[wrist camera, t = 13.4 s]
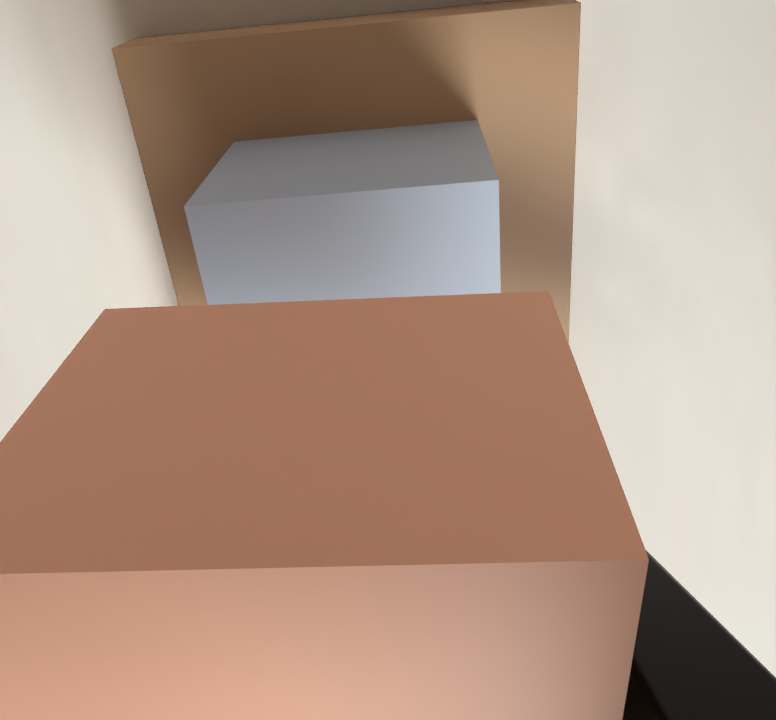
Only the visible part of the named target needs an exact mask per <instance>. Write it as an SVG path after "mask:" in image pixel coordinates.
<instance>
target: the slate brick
mask: <svg viewBox="0 0 776 720" xmlns="http://www.w3.org/2000/svg"><path fill="white" fill-rule="evenodd" d="M184 209H185V213H186V217H187V221H188V225H189V229H190V234H191V238H192V242H193V246H194V250H195V254H196V258H197V263H198V267H199V271H200V275H201V279H202V283H203V288H204V292H205V296H206V300H207V304H208V305H218V304H243V303H267V302H292V301H316V300H341V299H365V298H390V297H414V296H439V295H463V294H488V293H501V278H500V222H499V179H498V176H497V173H496V170H495V168H494V165H493V162H492V159H491V156H490V153H489V150H488V148H487V145H486V142H485V139H484V136H483V133H482V130H481V128H480V125H479V122H478V120H471V121H460V122H449V123H438V124H426V125H415V126H404V127H393V128H382V129H371V130H359V131H348V132H337V133H326V134H315V135H304V136H292V137H281V138H270V139H259V140H248V141H237V142H234V143H233V144H232V145H231V146H230V148H229V149H228V150H227V152H226V153H225V154H224V155H223V157H222V158H221V159H220V161H219V162H218V163H217V164H216V166H215V167H214V168H213V170H212V171H211V172H210V173H209V175H208V176H207V177H206V179H205V180H204V181H203V182H202V184H201V185H200V186H199V188H198V189H197V190H196V191H195V193H194V194H193V195H192V197H191V198H190V199H189V200H188V202H187V203H186V204H185V206H184Z"/></svg>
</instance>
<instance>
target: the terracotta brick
mask: <svg viewBox="0 0 776 720" xmlns="http://www.w3.org/2000/svg"><path fill="white" fill-rule="evenodd" d="M648 562H649V559H648V556H647V553H646V550H645V548H644V545H643V542H642V540H641V537H640V534H639V532H638V529H637V526H636V524H635V521H634V518H633V516H632V513H631V510H630V508H629V505H628V502H627V500H626V497H625V494H624V491H623V489H622V486H621V483H620V481H619V478H618V475H617V473H616V470H615V467H614V465H613V462H612V459H611V457H610V454H609V451H608V449H607V446H606V443H605V441H604V438H603V435H602V433H601V430H600V427H599V424H598V422H597V419H596V416H595V414H594V411H593V408H592V406H591V403H590V400H589V398H588V395H587V392H586V390H585V387H584V384H583V382H582V379H581V376H580V374H579V371H578V368H577V365H576V363H575V360H574V357H573V355H572V352H571V349H570V347H569V344H568V341H567V339H566V336H565V333H564V331H563V328H562V325H561V323H560V320H559V317H558V315H557V312H556V309H555V307H554V304H553V301H552V298H551V296H550V293H549V291H537V292H512V293H488V294H463V295H439V296H414V297H390V298H365V299H341V300H316V301H292V302H267V303H243V304H218V305H194V306H169V307H145V308H120V309H105V310H104V311H103V312H102V313H101V315H100V316H99V317H98V319H97V320H96V321H95V322H94V324H93V325H92V326H91V327H90V329H89V330H88V331H87V333H86V334H85V335H84V336H83V338H82V339H81V340H80V341H79V343H78V344H77V345H76V347H75V348H74V349H73V350H72V352H71V353H70V354H69V356H68V357H67V358H66V359H65V361H64V362H63V363H62V364H61V366H60V367H59V368H58V370H57V371H56V372H55V373H54V375H53V376H52V377H51V378H50V380H49V381H48V382H47V384H46V385H45V386H44V387H43V389H42V390H41V391H40V392H39V394H38V395H37V396H36V398H35V399H34V400H33V401H32V403H31V404H30V405H29V406H28V408H27V409H26V410H25V412H24V413H23V414H22V415H21V417H20V418H19V419H18V420H17V422H16V423H15V424H14V426H13V427H12V428H11V429H10V431H9V432H8V433H7V434H6V436H5V437H4V438H3V440H2V441H1V442H0V720H622V718H623V712H624V706H625V700H626V694H627V688H628V682H629V676H630V670H631V664H632V658H633V652H634V646H635V640H636V634H637V628H638V622H639V616H640V610H641V604H642V598H643V592H644V586H645V580H646V574H647V568H648Z"/></svg>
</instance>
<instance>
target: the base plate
mask: <svg viewBox="0 0 776 720" xmlns="http://www.w3.org/2000/svg"><path fill="white" fill-rule="evenodd" d="M580 11H581V3H580V2H578V1H576V0H517V1H507V2H497V3H487V4H477V5H466V6H456V7H446V8H436V9H426V10H416V11H406V12H395V13H385V14H375V15H365V16H355V17H345V18H335V19H324V20H314V21H304V22H294V23H284V24H274V25H263V26H253V27H243V28H233V29H223V30H213V31H203V32H192V33H182V34H172V35H162V36H152V37H142V38H135V39H133V40H130V41H128V42H126V43H124V44H121V45H119V46H117V47H114V48H112V52H113V56H114V59H115V63H116V67H117V71H118V75H119V78H120V82H121V86H122V90H123V94H124V98H125V101H126V105H127V109H128V113H129V117H130V120H131V124H132V128H133V132H134V136H135V140H136V143H137V147H138V151H139V155H140V159H141V163H142V166H143V170H144V174H145V178H146V182H147V185H148V189H149V193H150V197H151V201H152V205H153V208H154V212H155V216H156V220H157V224H158V228H159V231H160V235H161V239H162V243H163V247H164V250H165V254H166V258H167V262H168V266H169V270H170V273H171V277H172V281H173V285H174V289H175V292H176V296H177V300H178V304H179V306H194V305H208V304H207V300H206V296H205V292H204V288H203V283H202V279H201V275H200V271H199V267H198V263H197V258H196V254H195V250H194V246H193V242H192V238H191V234H190V229H189V225H188V221H187V217H186V213H185V209H184V206H185V204H186V203H187V202H188V200H189V199H190V198H191V197H192V195H193V194H194V193H195V191H196V190H197V189H198V188H199V186H200V185H201V184H202V182H203V181H204V180H205V179H206V177H207V176H208V175H209V173H210V172H211V171H212V170H213V168H214V167H215V166H216V164H217V163H218V162H219V161H220V159H221V158H222V157H223V155H224V154H225V153H226V152H227V150H228V149H229V148H230V146H231V145H232V144H233V143H234V142H237V141H248V140H259V139H270V138H281V137H292V136H304V135H315V134H326V133H337V132H348V131H359V130H371V129H382V128H393V127H404V126H415V125H426V124H438V123H449V122H460V121H471V120H478V122H479V125H480V128H481V130H482V133H483V136H484V139H485V142H486V145H487V148H488V150H489V153H490V156H491V159H492V162H493V165H494V168H495V170H496V173H497V176H498V179H499V222H500V278H501V293H512V292H537V291H549V293H550V296H551V298H552V301H553V304H554V307H555V309H556V312H557V315H558V317H559V320H560V323H561V325H562V328H563V331H564V333H565V336H566V339H567V341H568V342H569V315H570V287H571V259H572V232H573V204H574V176H575V149H576V121H577V94H578V66H579V38H580Z"/></svg>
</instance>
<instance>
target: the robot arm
mask: <svg viewBox="0 0 776 720" xmlns="http://www.w3.org/2000/svg"><path fill="white" fill-rule="evenodd" d="M646 553H647V556H648V559H649V562H648V568H647V574H646V580H645V586H644V592H643V598H642V604H641V610H640V616H639V622H638V628H637V634H636V640H635V646H634V652H633V658H632V664H631V670H630V676H629V682H628V688H627V694H626V700H625V706H624V712H623V718H622V720H776V677H774V676H773V675H772V674H771V673H770V672H769V671H768V670H767V669H766V668H765V667H764V666H763V665H762V664H761V663H760V662H759V661H758V660H757V659H756V658H755V657H754V656H753V655H752V654H751V653H750V652H749V651H748V650H747V649H746V648H745V647H744V646H743V645H742V644H741V643H740V642H739V641H738V640H737V639H736V638H735V637H734V636H733V635H732V634H731V633H730V632H729V631H728V630H727V629H726V628H725V627H724V626H723V625H722V624H721V623H720V622H719V621H717V620H716V619H715V618H714V617H713V616H712V615H711V614H710V613H709V612H708V611H707V610H706V609H705V608H704V607H703V606H702V605H701V604H700V603H699V602H698V601H697V600H696V599H695V598H694V597H693V596H692V595H691V594H690V593H689V592H688V591H687V590H686V589H685V588H684V587H683V586H682V585H681V584H680V583H679V582H678V581H677V580H676V579H675V578H674V577H673V576H672V575H671V574H670V573H669V572H668V571H667V570H666V569H665V568H664V567H663V566H662V565H660V564H659V563H658V562H657V561H656V560H655V559H654V558H653V557H652V556H651V555H650V554H649V553H648V552H647V551H646Z"/></svg>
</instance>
